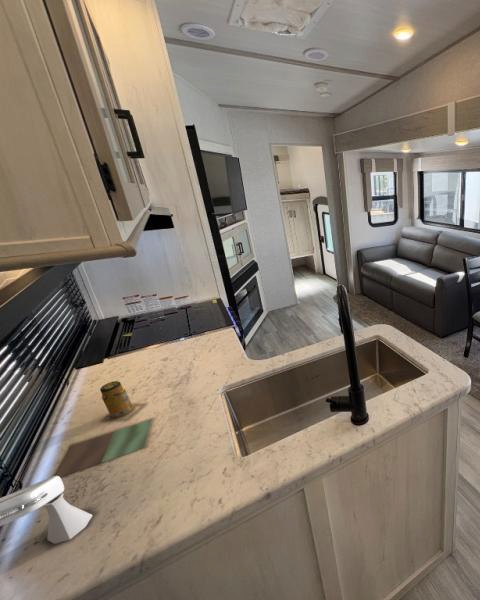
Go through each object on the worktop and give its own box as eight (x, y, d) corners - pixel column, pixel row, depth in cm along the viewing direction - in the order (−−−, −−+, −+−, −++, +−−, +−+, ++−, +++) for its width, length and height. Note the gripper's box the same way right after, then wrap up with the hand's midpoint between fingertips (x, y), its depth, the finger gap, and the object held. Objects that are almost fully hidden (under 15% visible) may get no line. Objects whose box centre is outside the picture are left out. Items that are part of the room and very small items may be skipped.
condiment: (122, 407, 112) (109, 379, 107) (144, 406, 111) (132, 378, 107) (104, 421, 105) (89, 392, 100) (128, 420, 105) (114, 391, 100)
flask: (70, 545, 68) (50, 514, 64) (39, 545, 68) (17, 515, 65) (100, 512, 75) (83, 483, 71) (72, 513, 75) (53, 483, 71)
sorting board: (54, 481, 84) (53, 479, 83) (72, 446, 95) (71, 445, 95) (145, 448, 93) (144, 447, 92) (152, 420, 104) (151, 419, 104)
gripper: (26, 487, 53) (75, 456, 66) (-156, 561, 46) (-60, 510, 58) (40, 520, 53) (86, 483, 66) (-139, 600, 46) (-48, 540, 59)
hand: (16, 496), depth 62 cm, fingers open, 8 cm apart
